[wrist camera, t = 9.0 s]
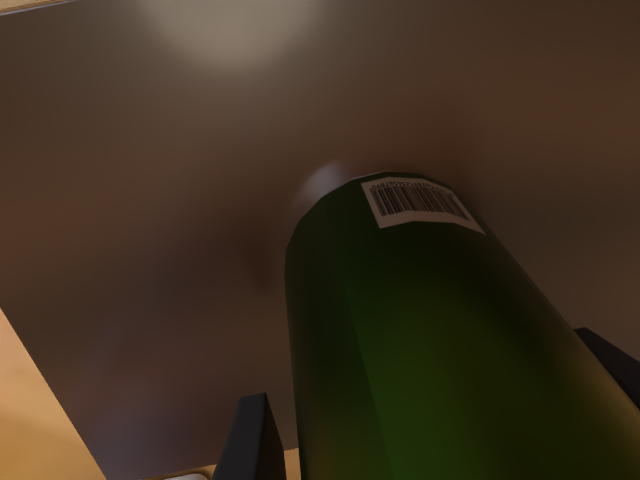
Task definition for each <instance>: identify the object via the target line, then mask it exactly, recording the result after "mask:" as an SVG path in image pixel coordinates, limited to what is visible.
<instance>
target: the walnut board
mask: <svg viewBox="0 0 640 480" xmlns="http://www.w3.org/2000/svg"><path fill="white" fill-rule="evenodd" d="M376 172H404V173H420V174H422V175H425V176H427V177H430V178H432V179H435V180H437V181H440V182H442V183H445V184H448V185H449V186H450V187H451V188H452V189H453V190H455V191H456V192H457V193H458V194H459V195H460V196H461V197H462V198H463V199H464V200H466V201H467V202H468V203H469V204H470V205H471V206H472V208H473V209H474V210H475V211H476V213H477V214H478V215H479V216H480V217H481V219H482V220H483V221H484V222H485V223H486V225H487V226H488V227H489V228H490V230H491V231H492V232H493V233H494V234H495V236H496V237H497V238H498V239H499V240H500V242H501V243H502V244H503V245H504V246H505V248H506V249H507V250H508V251H509V253H510V254H511V255H512V256H513V257H514V259H515V260H516V261H517V262H518V263H519V265H520V266H521V267H522V268H523V270H524V271H525V272H526V273H527V274H528V276H529V277H530V278H531V279H532V280H533V282H534V283H535V284H536V285H537V287H538V288H539V289H540V290H541V291H542V293H543V294H544V295H545V296H546V297H547V299H548V300H549V301H550V302H551V303H552V305H553V306H554V307H555V308H556V310H557V311H558V312H559V313H560V314H561V316H562V317H563V318H564V319H565V320H566V322H567V323H568V324H569V325H570V327H571V328H572V329H577V328H582V327H586V328H588V329H590V330H591V331H593V332H594V333H596V334H597V335H599V336H601V337H602V338H604V339H605V340H607V341H608V342H610V343H611V344H613V345H614V346H616V347H617V348H619V349H620V350H622V351H624V352H625V353H627V354H628V355H630V356H631V357H633V358H634V359H636V360H637V361H639V362H640V0H49V1H44V2H39V3H34V4H28V5H23V6H18V7H13V8H7V9H2V10H0V308H1V310H2V311H3V313H4V314H5V316H6V318H7V319H8V321H9V322H10V324H11V326H12V327H13V329H14V331H15V332H16V334H17V335H18V337H19V339H20V340H21V342H22V343H23V345H24V347H25V348H26V350H27V351H28V353H29V355H30V356H31V358H32V360H33V361H34V363H35V364H36V366H37V368H38V369H39V371H40V372H41V374H42V376H43V377H44V379H45V381H46V382H47V384H48V385H49V387H50V389H51V390H52V392H53V393H54V395H55V397H56V398H57V400H58V401H59V403H60V405H61V406H62V408H63V410H64V411H65V413H66V414H67V416H68V418H69V419H70V421H71V422H72V424H73V426H74V427H75V429H76V430H77V432H78V434H79V435H80V437H81V439H82V440H83V442H84V443H85V445H86V447H87V448H88V450H89V451H90V453H91V455H92V456H93V458H94V460H95V461H96V463H97V464H98V466H99V468H100V469H101V471H102V472H103V474H104V476H105V477H106V479H107V480H141V479H146V478H151V477H156V476H161V475H166V474H171V473H176V472H181V471H186V470H190V469H195V468H200V467H205V466H210V465H215V464H217V463H218V460H219V458H220V455H221V452H222V450H223V447H224V444H225V441H226V438H227V435H228V432H229V429H230V426H231V423H232V419H233V416H234V412H235V409H236V405H237V401H238V400H239V399H240V398H241V397H245V396H250V395H255V394H259V393H264V392H266V394H267V398H268V401H269V404H270V407H271V410H272V413H273V417H274V420H275V423H276V426H277V429H278V432H279V436H280V439H281V442H282V445H283V450H289V449H294V448H299V447H298V435H297V424H296V412H295V400H294V388H293V377H292V365H291V353H290V342H289V330H288V318H287V307H286V295H285V283H284V269H285V256H286V248H287V246H288V243H289V241H290V239H291V237H292V235H293V233H294V230H295V228H296V226H297V224H298V222H299V220H300V219H301V218H302V217H303V216H304V215H305V214H306V213H307V212H308V211H309V210H310V209H311V208H312V207H313V206H314V204H315V203H316V202H317V201H318V200H319V199H320V198H321V197H322V196H323V195H324V194H325V193H327V192H329V191H330V190H332V189H334V188H335V187H337V186H339V185H341V184H342V183H344V182H346V181H348V180H349V179H351V178H356V177H360V176H364V175H368V174H372V173H376Z"/></svg>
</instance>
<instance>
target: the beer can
mask: <svg viewBox="0 0 640 480" xmlns="http://www.w3.org/2000/svg"><path fill="white" fill-rule="evenodd" d="M284 283H285V295H286V307H287V318H288V330H289V342H290V353H291V365H292V377H293V388H294V400H295V412H296V424H297V435H298V447H299V459H300V470H301V480H640V410H639V409H638V408H637V407H636V405H635V404H634V403H633V402H632V400H631V399H630V398H629V397H628V396H627V394H626V393H625V392H624V391H623V390H622V388H621V387H620V386H619V385H618V384H617V382H616V381H615V380H614V379H613V377H612V376H611V375H610V374H609V373H608V371H607V370H606V369H605V368H604V367H603V365H602V364H601V363H600V362H599V360H598V359H597V358H596V357H595V356H594V354H593V353H592V352H591V351H590V350H589V348H588V347H587V346H586V345H585V343H584V342H583V341H582V340H581V339H580V337H579V336H578V335H577V334H576V333H575V331H574V330H573V329H572V328H571V327H570V325H569V324H568V323H567V322H566V320H565V319H564V318H563V317H562V316H561V314H560V313H559V312H558V311H557V310H556V308H555V307H554V306H553V305H552V303H551V302H550V301H549V300H548V299H547V297H546V296H545V295H544V294H543V293H542V291H541V290H540V289H539V288H538V287H537V285H536V284H535V283H534V282H533V280H532V279H531V278H530V277H529V276H528V274H527V273H526V272H525V271H524V270H523V268H522V267H521V266H520V265H519V263H518V262H517V261H516V260H515V259H514V257H513V256H512V255H511V254H510V253H509V251H508V250H507V249H506V248H505V246H504V245H503V244H502V243H501V242H500V240H499V239H498V238H497V237H496V236H495V234H494V233H493V232H492V231H491V230H490V228H489V227H488V226H487V225H486V223H485V222H484V221H483V220H482V219H481V217H480V216H479V215H478V214H477V213H476V211H475V210H474V209H473V208H472V206H471V205H470V204H469V203H468V202H467V201H466V200H464V199H463V198H462V197H461V196H460V195H459V194H458V193H457V192H456V191H455V190H453V189H452V188H451V187H450V186H449V185H448V184H445V183H442V182H440V181H437V180H435V179H432V178H430V177H427V176H425V175H422V174H420V173H404V172H376V173H372V174H368V175H364V176H360V177H356V178H351V179H349V180H348V181H346V182H344V183H342V184H341V185H339V186H337V187H335V188H334V189H332V190H330V191H329V192H327V193H325V194H324V195H323V196H322V197H321V198H320V199H319V200H318V201H317V202H316V203H315V204H314V206H313V207H312V208H311V209H310V210H309V211H308V212H307V213H306V214H305V215H304V216H303V217H302V218H301V219H300V220H299V222H298V224H297V226H296V228H295V230H294V233H293V235H292V237H291V239H290V241H289V243H288V246H287V248H286V256H285V269H284Z"/></svg>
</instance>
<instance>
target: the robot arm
mask: <svg viewBox="0 0 640 480" xmlns="http://www.w3.org/2000/svg"><path fill="white" fill-rule="evenodd" d="M573 330H574V331H575V333H576V334H577V335H578V336H579V337H580V339H581V340H582V341H583V342H584V343H585V345H586V346H587V347H588V348H589V350H590V351H591V352H592V353H593V354H594V356H595V357H596V358H597V359H598V360H599V362H600V363H601V364H602V365H603V367H604V368H605V369H606V370H607V371H608V373H609V374H610V375H611V376H612V377H613V379H614V380H615V381H616V382H617V384H618V385H619V386H620V387H621V388H622V390H623V391H624V392H625V393H626V394H627V396H628V397H629V398H630V399H631V400H632V402H633V403H634V404H635V405H636V407H637V408H638V409H639V410H640V362H639V361H637V360H636V359H634V358H633V357H631V356H630V355H628V354H627V353H625V352H624V351H622V350H620V349H619V348H617V347H616V346H614V345H613V344H611V343H610V342H608V341H607V340H605V339H604V338H602V337H601V336H599V335H597V334H596V333H594V332H593V331H591V330H590V329H588V328H586V327H582V328H577V329H573ZM164 480H207V478H206V477H205V476H203V475H201V474H197V473H196V474H189V475H184V476H179V477H174V478H169V479H164ZM211 480H286V470H285V460H284V450H283V445H282V442H281V439H280V436H279V432H278V429H277V426H276V423H275V420H274V417H273V413H272V410H271V407H270V404H269V401H268V398H267V394H266V392H264V393H259V394H255V395H250V396H245V397H241V398H240V399H239V400H238V401H237V405H236V409H235V412H234V416H233V419H232V423H231V426H230V429H229V432H228V435H227V438H226V441H225V444H224V447H223V450H222V452H221V455H220V458H219V460H218V463H217V465H216V468H215V471H214V473H213V476H212V478H211Z"/></svg>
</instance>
